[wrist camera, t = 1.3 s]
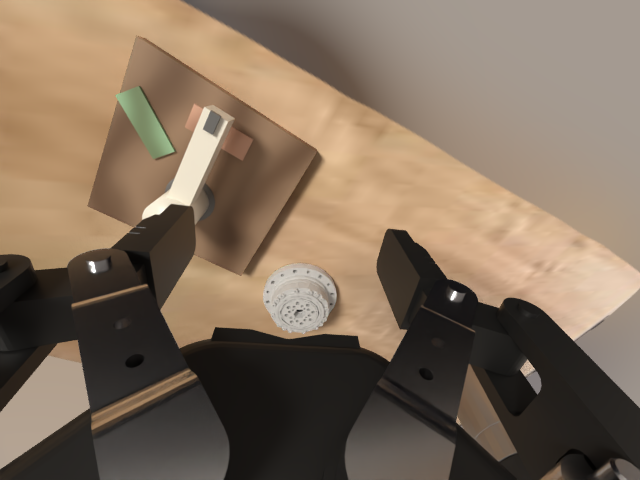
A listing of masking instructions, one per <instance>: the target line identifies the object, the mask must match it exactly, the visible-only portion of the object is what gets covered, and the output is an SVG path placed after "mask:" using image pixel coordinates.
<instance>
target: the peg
mask: <svg viewBox="0 0 640 480" xmlns="http://www.w3.org/2000/svg"><path fill="white" fill-rule="evenodd" d="M234 119H235V118H233V117H232V116H230V115H229V114H227V113H225V112H224V111H222V110H221V109H219V108H217V107H216V106H214V105H211V106H206V107H204V109H203V111H202V113H201V116H200V118H199V121H198V123H197V126H196V128H195V130H194V133H193V135H192V138H191V140H190V142H189V145H188V147H187V150H186V152H185V155H184V157H183V159H182V162H181V164H180V167H179V169H178V172H177V174H176V176H175V179H174V181H173V184H172V186H171V189H170V190H168V191H167V192H166V193H164V194H163V195H162V196H161V197H159V198H158V199H157V200H155V201H154V202H153V203H151V204H150V205H149V206H147V207H146V208H145V210H144V212H143V215H142V220H143V219H145V218H148V217H150V216H153V215H155V214H157V215H160V214H161V213H162V212H163V211H164V210H165V209H166V208H167V207H168V206H169V205H170V204H177V205H186V206H192V207H193V210H194V219H195V224H196V223H197V222H198V221H199V219H200V218H201V217H202V216H203V214H204V213H205V212H206V210H207V209H208V206H209V199H208V196H207V194H206V192H205V191H204V190H203V189H202V188H203V186H204V184H205V182H206V180H207V178H208V175H209V173H210V171H211V169H212V167H213V165H214V162H215V160H216V158H217V156H218V154H219V152H220V150H221V147H222V145H223V143H224V141H225V139H226V137H227V134H228V132H229V130H230V128H231V126H232V124H233V122H234Z"/></svg>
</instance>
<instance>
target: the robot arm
mask: <svg viewBox="0 0 640 480" xmlns="http://www.w3.org/2000/svg"><path fill="white" fill-rule="evenodd" d="M195 247H196V235H195V219H194V210H193V207H192V206H186V205H177V204H170V205H169V206H168V207H167V208H166V209H165V210H164V211H163V212H162V213H161V214H160V215H157V214H155V215H153V216H150V217H148V218H145V219H143V220H142V221H141V222H140V223H139V224H137V225H136V228H135V227H134V228H133V229H132V230H131V231H130V232H129V233H127V234H126V235H125V236H124V237H123V238H122V239H121V240H119V241H118V242H117V243H116V244H115V245H114V246H113V247H112V248H110V249H97V250H92V251H88V252H85V253H82V254H80V255H78V256H76V257H74V258H73V259H72V260H71V261H70V262H69V263H68V265H67V268H56V269H45V270H34V268H33V265H32V263H31V261H30V259H29V258H28V257H25V256H22V255H14V254H8V255H0V412H1V411H2V409H3V408H4V407H5V406H6V405H7V403H8V402H9V401H10V400H11V399H12V397H13V396H14V395H15V394H16V393H17V391H18V390H19V389H20V388H21V387H22V385H23V384H24V383H25V382H26V381H27V379H28V378H29V377H30V376H31V375H32V373H33V372H34V371H35V370H36V369H37V368H38V366H39V365H40V364H41V363H42V362H43V360H44V359H45V358H46V357H47V356H48V354H49V353H50V352H51V351H52V350H53V348H54V347H55V346H56V345H57V343H61V342H67V341H72V340H78V345H79V350H80V356H81V361H82V367H83V372H84V378H85V383H86V389H87V394H88V400H89V405H90V409H88V410H86V411H85V412H83V413H82V414H81V415H79V416H78V417H76V418H75V419H73V420H72V421H70V422H69V423H68V424H66V425H65V426H63V427H62V428H60V429H59V430H57V431H56V432H54V433H53V434H51V435H50V436H48V437H47V438H45V439H44V440H43V441H41V442H40V443H38V444H37V445H35V446H34V447H32V448H31V449H29V450H28V451H27V452H25V453H24V454H22V455H21V456H19V457H18V458H16V459H15V460H13V461H12V462H10V463H9V464H8V465H6V466H5V467H3V468H2V469H0V480H640V408H639V407H638V406H637V405H636V404H635V403H634V402H633V401H632V400H631V399H630V398H629V397H628V396H627V395H626V394H625V393H624V392H623V391H622V390H621V389H620V388H619V387H618V386H617V385H616V384H615V383H614V382H613V381H612V380H611V379H610V378H609V377H608V376H607V375H606V373H605V372H603V371H602V370H601V369H600V367H599V366H598V365H597V364H596V363H595V362H594V361H593V360H592V359H591V358H590V357H589V356H588V355H587V354H586V353H585V352H584V351H583V350H582V349H581V348H580V347H579V346H578V345H577V344H576V343H575V342H574V341H573V340H572V339H571V338H570V337H569V336H568V335H567V334H566V333H565V332H564V331H563V330H562V329H561V328H560V327H559V326H558V325H557V324H556V323H555V322H554V321H553V320H552V319H551V318H550V317H549V316H548V315H547V314H546V313H545V312H544V311H543V310H541V309H540V308H538V307H537V306H535V305H533V304H531V303H529V302H527V301H524V300H521V299H517V298H506V299H505V300H504V301H503V303H502V304H501V306H500V308H497V307H493V306H490V305H487V304H483V303H480V302H478V298H477V296H476V294H475V293H474V292H473V291H472V290H471V289H470V288H468V287H467V286H465V285H463V284H461V283H459V282H456V281H453V280H449V279H447V278H446V276H445V275H444V273H443V272H442V271H441V269H440V268H439V267H438V265H437V264H435V261H434V260H433V259H432V258H431V256H430V255H429V253H428V252H427V251H426V249H424V248H423V247H422V246H420V245H419V244H417V243H415V242H414V241H413V240H412V238H411V237H410V235H409V234H408V232H407V231H405V230H396V229H388V230H387V231H386V233H385V236H384V239H383V243H382V246H381V249H380V253H379V256H378V260H377V273H378V276H379V279H380V281H381V283H382V286H383V288H384V291H385V293H386V296H387V298H388V301H389V303H390V306H391V308H392V311H393V313H394V316H395V318H396V321H397V323H398V326H399V328H400V329H406V330H407V332H406V334H405V336H404V337H403V339H402V341H401V343H400V345H399V347H398V348H397V350H396V352H395V354H394V356H393V358H392V359H391V361H390V362H389V361H388V360H386V359H385V358H383V357H381V356H380V355H378V354H376V353H374V352H372V351H369V350H367V349H364V348H361V347H360V345H359V340H358V336H348V335H332V334H321V335H315V336H308V337H302V338H295V339H285V338H281V337H277V336H274V335H270V334H266V333H263V332H259V331H255V330H250V329H234V328H218V327H215V330H214V332H213V335H212V338H211V339H207V340H202V341H198V342H195V343H192V344H189V345H186V346H184V347H182V348H180V349H179V347H178V345H177V343H176V341H175V339H174V337H173V335H172V333H171V331H170V329H169V327H168V325H167V323H166V321H165V319H164V317H163V315H162V313H161V311H160V309H161V308H162V306H163V305H164V303H165V301H166V300H167V298H168V296H169V295H170V293H171V291H172V290H173V288H174V286H175V285H176V283H177V282H178V280H179V278H180V277H181V275H182V273H183V272H184V270H185V268H186V267H187V265H188V264H189V262H190V260H191V259H192V257H193V255H194V252H195ZM527 359H528V360H529V362H530V363H531V364H532V366H533V367H534V368H535V370H536V371H537V372H538V374H539V376H540V378H541V384H542V387H541V390H540V392H539V394H538V395H537V394H536V392H535V391H534V389H533V388H532V386H531V385H530V383H529V382H528V381H527V379H526V378H525V376H524V375H523V373H522V372H521V371H520V369H521V367H522V366H523V365H524V363H525V362H526V361H527ZM457 416H458V418H459V420H460V422H461V424H462V426H463V428H462V427H460V426H459V425H458V424H457V423H456V419H457Z"/></svg>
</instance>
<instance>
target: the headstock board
mask: <svg viewBox="0 0 640 480" xmlns="http://www.w3.org/2000/svg"><path fill="white" fill-rule="evenodd" d="M115 96H116V97H117V99H118V101H117V105H116V108H115V112H114V115H113V119H112V122H111V126H110V129H109V133H108V136H107V140H106V143H105V147H104V150H103V154H102V157H101V161H100V164H99V168H98V171H97V175H96V178H95V182H94V185H93V189H92V192H91V196H90V199H89V203H88V207H90V208H93V209H95V210H97V211H99V212H101V213H104V214H106V215H108V216H110V217H112V218H115V219H117V220H119V221H121V222H123V223H126V224H128V225H130V226H132V227H135V228H136V225H137V224H139V223H140V222H141V221H142V215H143V212H144V210H145V208H146V207H147V206H149V205H150V204H151V203H153V202H154V201H155V200H157V199H158V198H159V197H161V196H162V195H163V194H164V193H166V192H167V191H168V190H170V189H171V186H172V184H173V181H174V179H175V176H176V174H177V172H178V169H179V167H180V164H181V162H182V159H183V157H184V155H185V152H186V150H187V147H188V145H189V142H190V140H191V138H192V135H193V133H194V130H195V128H196V126H197V123H198V121H199V118H200V116H201V113H202V111H203V109H204V107H206V106H211V105H214V106H216V107H217V108H219V109H221V110H222V111H224V112H225V113H227V114H229V115H230V116H232V117H233V118H235V119H234V122H233V124H232V126H231V128H230V130H229V132H228V134H227V137H226V139H225V141H224V143H223V145H222V147H221V150H220V152H219V154H218V156H217V158H216V160H215V162H214V165H213V167H212V169H211V171H210V173H209V175H208V178H207V180H206V182H205V184H204V186H203V188H202V189H203V190H204V191H205V192H206V194H207V196H208V199H209V206H208V209H207V210H206V212H205V213H204V214H203V216H202V217H201V218H200V219H199V221H198V222H197V223H196V224H195V235H196V247H195V252H194V255H196V256H198V257H200V258H203V259H205V260H207V261H209V262H211V263H214V264H216V265H218V266H220V267H222V268H225V269H227V270H229V271H231V272H233V273H236V274H238V275H240V276H241V275H242V273H243V272H244V270H245V269H246V267H247V265H248V264H249V262H250V260H251V259H252V257H253V255H254V254H255V252H256V251H257V249H258V247H259V246H260V244H261V242H262V241H263V239H264V238H265V236H266V234H267V233H268V231H269V229H270V228H271V226H272V225H273V223H274V221H275V220H276V218H277V216H278V215H279V213H280V212H281V210H282V208H283V207H284V205H285V203H286V202H287V200H288V199H289V197H290V195H291V194H292V192H293V190H294V189H295V187H296V186H297V184H298V182H299V181H300V179H301V177H302V176H303V174H304V173H305V171H306V169H307V168H308V166H309V164H310V163H311V161H312V159H313V158H314V156H315V155H316V153H317V150H316V149H315V148H314V147H312V146H310V145H309V144H307V143H306V142H304V141H303V140H301V139H300V138H298V137H297V136H295V135H293V134H292V133H290V132H289V131H287V130H286V129H284V128H283V127H281V126H280V125H278V124H276V123H275V122H273V121H272V120H270V119H269V118H267V117H266V116H264V115H263V114H261V113H260V112H258V111H256V110H255V109H253V108H252V107H250V106H249V105H247V104H246V103H244V102H243V101H241V100H239V99H238V98H236V97H235V96H233V95H232V94H230V93H229V92H227V91H226V90H224V89H223V88H221V87H219V86H218V85H216V84H215V83H213V82H212V81H210V80H209V79H207V78H206V77H204V76H202V75H201V74H199V73H198V72H196V71H195V70H193V69H192V68H190V67H189V66H187V65H186V64H184V63H182V62H181V61H179V60H178V59H176V58H175V57H173V56H172V55H170V54H169V53H167V52H165V51H164V50H162V49H161V48H159V47H158V46H156V45H155V44H153V43H152V42H150V41H148V40H147V39H145V38H142V37H139V36H136V38H135V42H134V45H133V49H132V52H131V56H130V59H129V63H128V66H127V70H126V73H125V77H124V80H123V84H122V87H121V91H120V93H119V94H117V95H115Z"/></svg>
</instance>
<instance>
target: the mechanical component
mask: <svg viewBox="0 0 640 480" xmlns="http://www.w3.org/2000/svg"><path fill="white" fill-rule="evenodd" d="M336 297H337V294H336V288H335V284H334V282H333V280H332V278H331V276H330V275H329V274H327V273H326V272H325V271H324V270H323V269H321V268H319V267H317V266H314V265H311V264H304V263H297V264H289V265H286V266H283V267H281V268H280V269H278V270H276V271H274V273H273V274H272V275H271V276H270V277H269V278H268V280H267V282H266V284H265V287H264V294H263V301H264V304H265V307H266V308H267V310H268V312H269V313H270V314H271V317H272V319H273V320H274V321H275V323H276V324H277V327H281V328H282V330H283V331H285V330H288V332H289V333H292V332H302V334H305V333H306V332H307V331H311V330H313V329H315V330H317V329H318V327H319V326H323V323H324V322H325V321H327V317H328V315H329V313H330V312H331V311H332V309H333V308H334V306H335V303H336Z"/></svg>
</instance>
